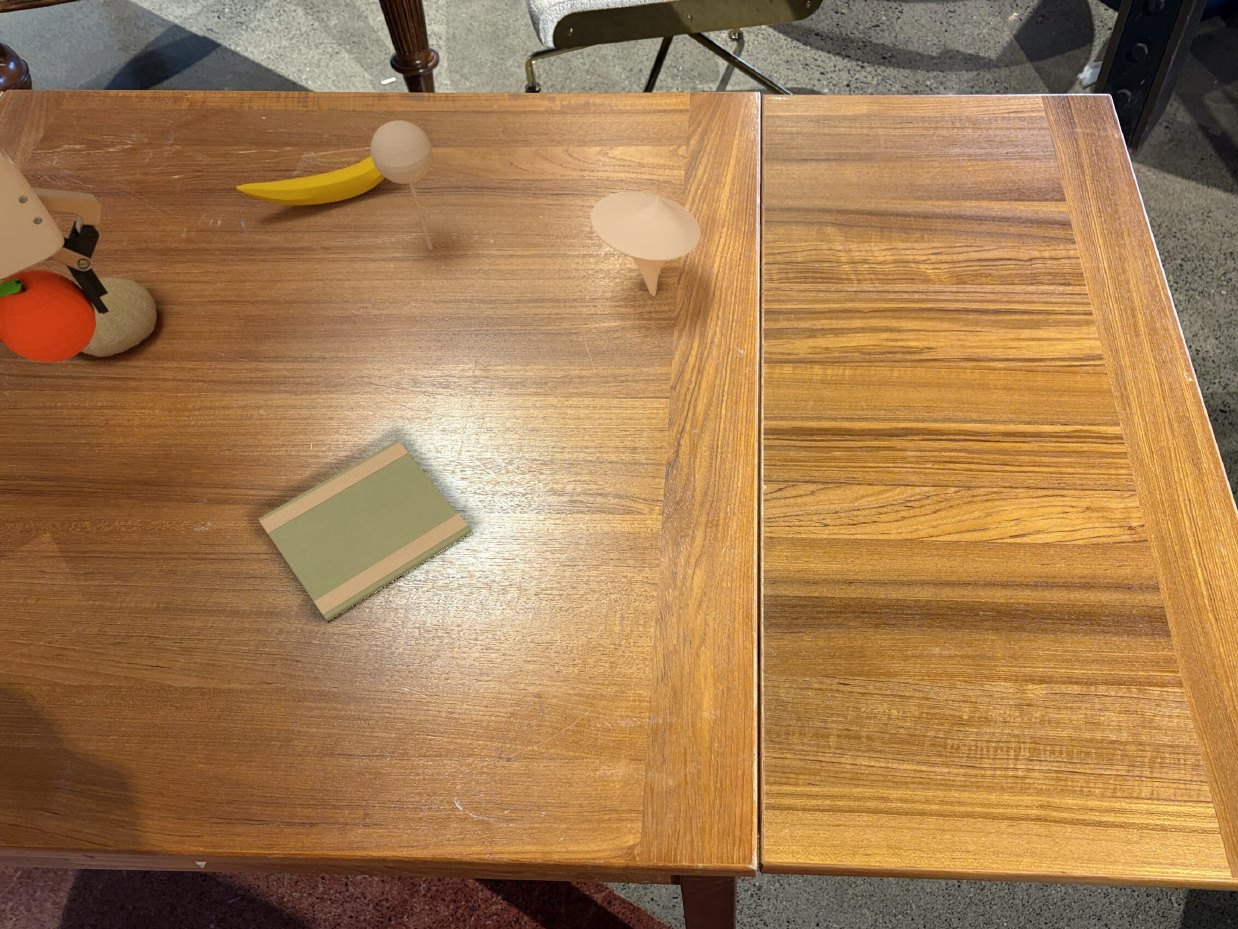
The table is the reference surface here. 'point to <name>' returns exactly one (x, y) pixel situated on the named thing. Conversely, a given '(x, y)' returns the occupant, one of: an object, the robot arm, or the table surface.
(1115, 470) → the table surface
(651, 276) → the mushroom
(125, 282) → the sea urchin shell
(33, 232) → the robot arm
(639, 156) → the table surface
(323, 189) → the banana
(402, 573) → the towel
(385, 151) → the lollipop
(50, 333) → the clementine
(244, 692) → the table surface
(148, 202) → the table surface
